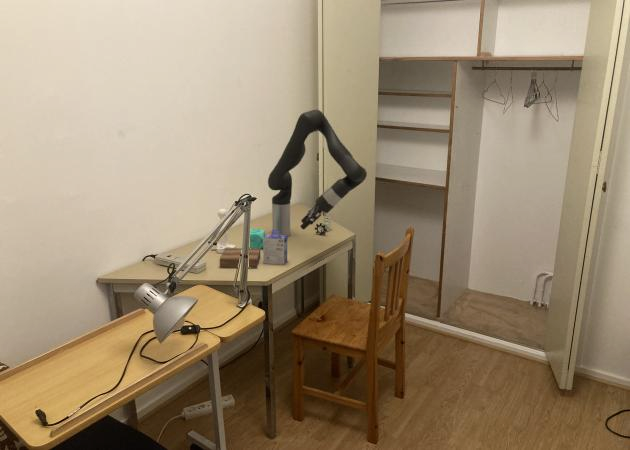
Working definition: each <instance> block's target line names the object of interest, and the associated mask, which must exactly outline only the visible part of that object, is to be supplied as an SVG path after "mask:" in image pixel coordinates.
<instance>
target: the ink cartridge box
mask: <svg viewBox="0 0 630 450" xmlns="http://www.w3.org/2000/svg"><path fill="white" fill-rule="evenodd" d="M273 232H278V234H274V233H273ZM262 249H263V250H262V251H263V252H262V253H263V264H270V265H278V266H279V265H281V266H285V265H286V264H287V262H288V237H287V236H285V235H280V231H278V230H271V234H268V233H267V234H265V237H264V238H263V248H262Z"/></svg>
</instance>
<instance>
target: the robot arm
mask: <svg viewBox="0 0 630 450" xmlns="http://www.w3.org/2000/svg"><path fill="white" fill-rule="evenodd" d="M316 132H319V133H321V134H322V135H323V136H324V139H325V141H326V145H327V146H326V147H327V150H328V152H329V155H330V156H331V158H332V159H333V160H334V161H335V162H336V163H337V164H338V165H339V166H340V168H341V170H342V171H343V173H344V174H345V176H344V177H343V178H339V179H337V180H336V182H334V183H333V184H332V185H331V186H330V187H329V188H327V189H326V190H325V191H324V192H323V193H322V194H320V195H319V197H318V198H317V199H316V200H315V204H314V206H312V207H311V209H309V210H308V211H307V213H306V215H305V216H303V218H302V219H301V223H302V224H301V225H300V228H301V229H302V230H305V229H306V228H308V227H309V226H310V225H313V224H314V223H316V221H317V220H318V219H320V217H321V216H322V212H324V213H325V214H328V213H330V211H332V209H334V208H335V207H336V206H338V204H339V203H340V202H341V201H342V200H343V199H344V197H346V196H347V195H348V194H349V193H350V192H351V191H352V190H354V189H355V188H357V187H358V186H359V185H361V184H362V183H363V182H364V181H365V180H366V178H367V170H366V168H364V166H361V164H359V163H358V161H357V160H355V158H354V156H353V155H352V153H351V152H350V151H349V150H348V148H347V147H346V146H345V145H344V144H343V143H342V141H341V140H340V139H339V137H338V135H337V134H336V132H335V130H334V129H333V127H332V126H331V124H330V122H329V120H328V119H327V117H326V116H325V114H324V112H322V111H321V110H320V109H313V110H308V111H306V112H305V111H304V112H303V113H301V114H300V115H299V116H298V117H297V121H296V124H295V126H294V130H293V132H292V134H291V136H290V138H289V140H288V142H287V144H286V146H285V147H284V150H283V152H282V153H281V156H280V158H279V159H278V161H277V163H276V165H275V166H274V168H273V169H272V170H271V172H270V173H269V176H268V179H267V185H268V188H269V189H270V190H272V191H279V192H278V193H277V194H275V195H273V197H272V198H271V205H272V206H271V210H272V211H271V213H272V214H271V221H272V222H271V223H272V224H271V225H272V226H271V227H272V228H271V229H272V230H278V231H280V235H285V236H287V238H289V237H291V199H292V190H293V177H292V174H291V173H290V171H291V170H293V169H294V168H296V166H298V165H299V164H300V163H301V161H302V160H303V158H304V157H305V154H306V143H305V142H306V140H307V139H308V136H309V135H310V134H312V133H316ZM272 230H271V231H272ZM273 233H274V234H278V232H273Z"/></svg>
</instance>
